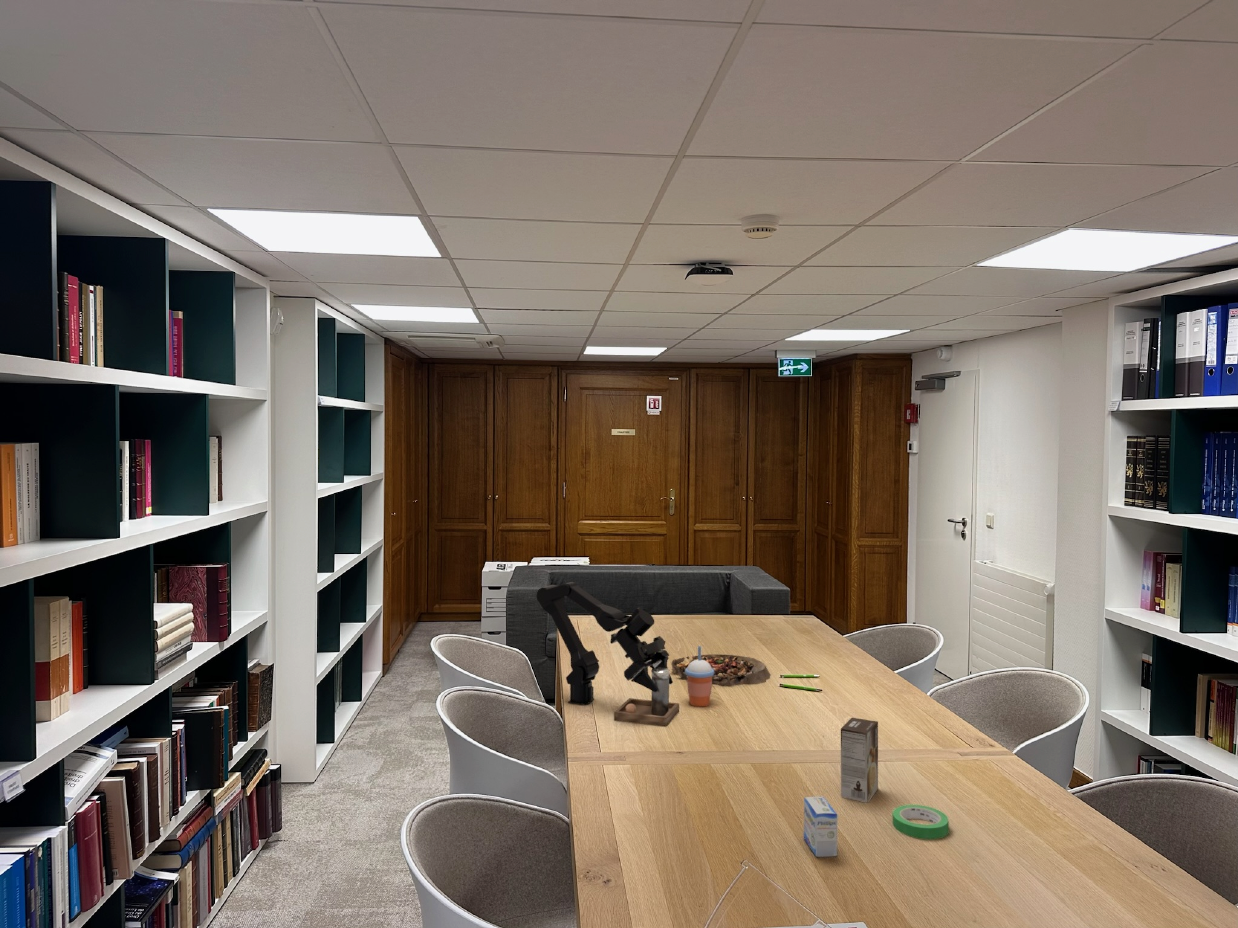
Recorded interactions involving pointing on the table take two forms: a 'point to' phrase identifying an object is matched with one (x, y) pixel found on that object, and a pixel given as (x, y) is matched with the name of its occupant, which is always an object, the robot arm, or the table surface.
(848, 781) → the coffee box
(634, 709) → the ball
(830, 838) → the medicine box
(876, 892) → the table surface
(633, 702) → the tray
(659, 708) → the shaker
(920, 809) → the tape roll
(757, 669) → the food dish
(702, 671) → the cup with straw
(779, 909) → the table surface
